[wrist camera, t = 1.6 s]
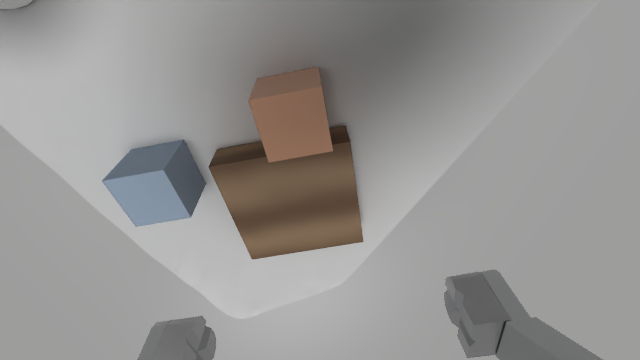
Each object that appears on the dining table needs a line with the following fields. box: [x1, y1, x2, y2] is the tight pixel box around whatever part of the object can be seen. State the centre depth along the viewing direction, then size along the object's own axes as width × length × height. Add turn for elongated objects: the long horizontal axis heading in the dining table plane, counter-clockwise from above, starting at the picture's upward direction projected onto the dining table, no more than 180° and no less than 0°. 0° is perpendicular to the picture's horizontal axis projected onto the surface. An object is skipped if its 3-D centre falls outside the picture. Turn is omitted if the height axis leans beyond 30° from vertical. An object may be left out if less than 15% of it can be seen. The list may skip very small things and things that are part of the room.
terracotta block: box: [248, 67, 333, 162], centre depth 23 cm, size 5×5×5 cm
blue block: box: [102, 140, 206, 227], centre depth 26 cm, size 5×5×5 cm
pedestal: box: [209, 126, 363, 259], centre depth 29 cm, size 12×12×3 cm
